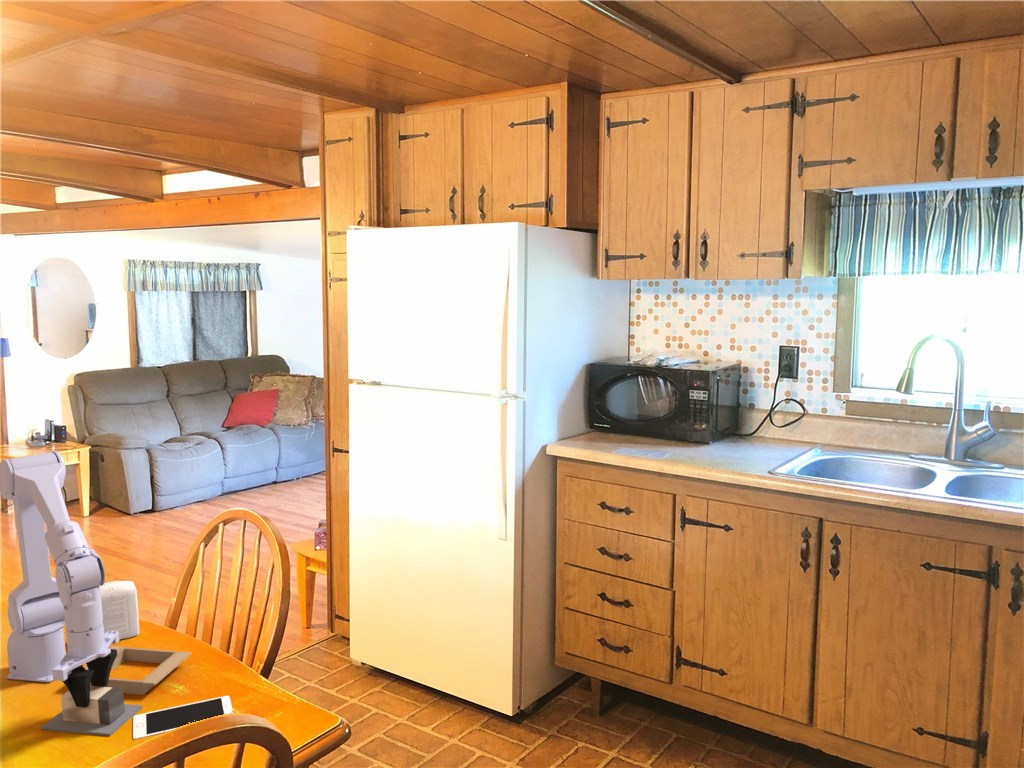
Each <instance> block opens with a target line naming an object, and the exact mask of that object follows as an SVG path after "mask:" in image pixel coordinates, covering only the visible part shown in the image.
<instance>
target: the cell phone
mask: <svg viewBox="0 0 1024 768" xmlns="http://www.w3.org/2000/svg"><path fill="white" fill-rule="evenodd" d="M230 697H231V696H229V695H223V696H219V697H214V698H209V699H205V700H204V699H203V700H200V701H195V702H191V703H187V704H181V705H176V706H173V707H168V708H167V707H166V708H164V709H158V710H154V711H148V712H145V713H139V714H134V715H133V716H132V738H133V740H140V739H144V738H148V737H153V736H158V735H162V734H165V732H167V733H170V732H169V731H171V730H174V729H176V728H179V727H180V726H183V725H186V724H189V723H188V722H190V723H192V722H196V721H200V720H203V719H207V718H211V717H214V716H218V715H223V714H230V713H233V714H234V710H233V707H232V701H231V698H230ZM232 711H233V712H232ZM194 720H195V721H194ZM164 731H165V732H164ZM160 733H161V734H160Z"/></svg>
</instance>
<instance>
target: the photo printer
mask: <svg viewBox="0 0 1024 768" xmlns="http://www.w3.org/2000/svg"><path fill="white" fill-rule="evenodd" d="M99 587H100V591H101V603H102V614H103V626H104V633H106V632H108V631H118V632H119V641H120V640H124V639H128V638H133V637H136V636H138V635H139V634H140V620H139V605H138V591H137V588H136V586H135V583H134V581H131V580H130V581H129V580H116V581H115V580H114V581H108V582H105V583H104V585H103V586H99Z"/></svg>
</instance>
